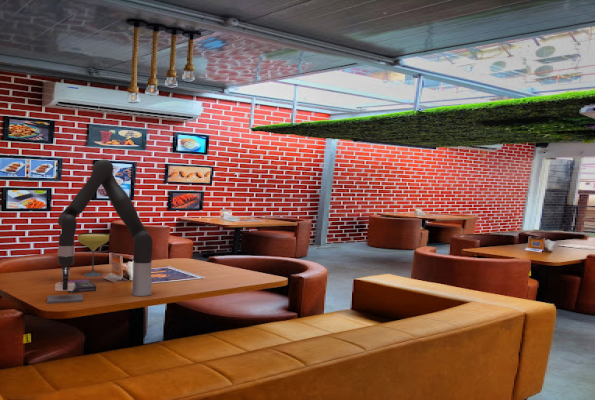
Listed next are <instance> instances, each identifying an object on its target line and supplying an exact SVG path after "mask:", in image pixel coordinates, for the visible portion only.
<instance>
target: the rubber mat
mask: <svg viewBox="0 0 595 400" xmlns="http://www.w3.org/2000/svg"><path fill="white" fill-rule="evenodd" d="M66 302H67V303H80V302H81V303H82V302H84V296H83V294H82V293H79V294H78V293H76V294H59V295H47V301H46V304H60V303H61V304H65V303H66Z"/></svg>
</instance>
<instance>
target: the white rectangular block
mask: <svg viewBox="0 0 595 400" xmlns="http://www.w3.org/2000/svg"><path fill="white" fill-rule="evenodd" d="M54 289H55V291H58V292H60V291H61V292H63V291H66V292H67V291H73V290H74V289H75V283H68V289H67V290H63V283H62V281H61V282H60V281H59V282H56V283H55V286H54Z"/></svg>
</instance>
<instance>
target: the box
mask: <svg viewBox="0 0 595 400" xmlns="http://www.w3.org/2000/svg"><path fill="white" fill-rule="evenodd" d="M61 283H63V282H62V281H61ZM68 283H75V289H74V290H73V291H68V294H74V293H76V294H78V293H85V292H87V293H88V292H96V291H97V284H95V283H94V282H92V281H91V280H89V279H88V278H86V279H78V280H76V279H75V280H69V281H68Z"/></svg>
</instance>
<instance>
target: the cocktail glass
mask: <svg viewBox="0 0 595 400" xmlns="http://www.w3.org/2000/svg"><path fill="white" fill-rule="evenodd" d="M109 240H110V234H109V233H106V232H105V233H104V232H82V233H78V234H77V241H78V242H79V243H80V244H81V245H84V246H86V247H88V248H89V249H90V251H92V259H91V261H92V262H91V263H92V264H91V272H88V273H83V277H88V278H89V277H91V278H92V277H94V278H95V277H100V276H102V275H103V273H102V272H101V273H100V272H95V269H94V267H95V266H94V261H95V260H94V255H95V252H94V251H96V250H97V249H98V248H99V247H101V246H103V245H105V244H107V243H108V242H109Z"/></svg>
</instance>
